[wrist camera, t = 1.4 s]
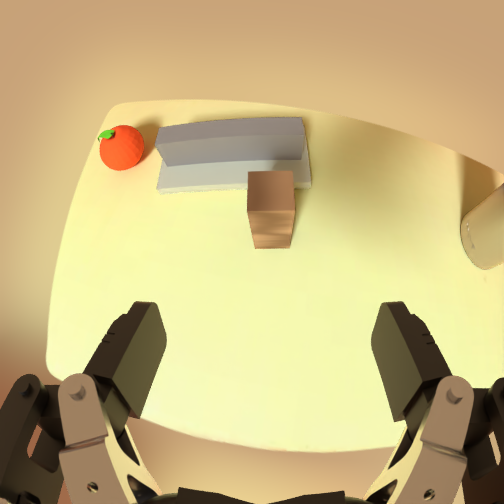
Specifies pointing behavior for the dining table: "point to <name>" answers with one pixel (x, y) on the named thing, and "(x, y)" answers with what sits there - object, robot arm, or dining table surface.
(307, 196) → the dining table surface
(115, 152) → the clementine
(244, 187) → the ridge stand
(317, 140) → the dining table surface
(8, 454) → the robot arm
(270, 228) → the walnut post
